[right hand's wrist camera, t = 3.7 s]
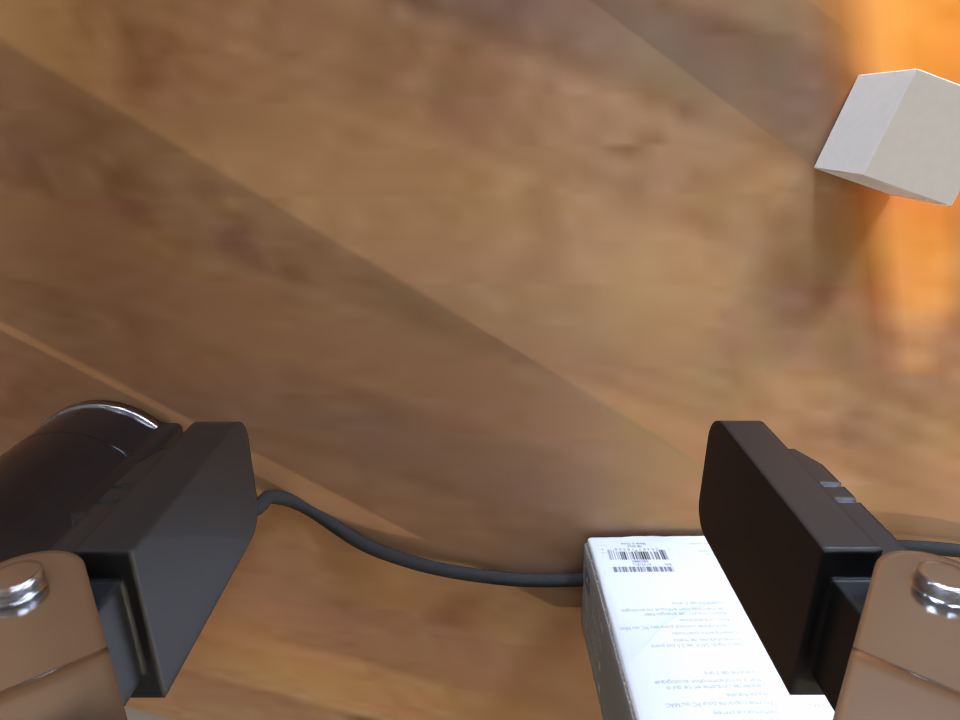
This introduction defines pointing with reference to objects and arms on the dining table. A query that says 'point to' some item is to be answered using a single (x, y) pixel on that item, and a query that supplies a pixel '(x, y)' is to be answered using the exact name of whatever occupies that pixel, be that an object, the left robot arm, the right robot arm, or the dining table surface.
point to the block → (899, 136)
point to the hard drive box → (677, 637)
